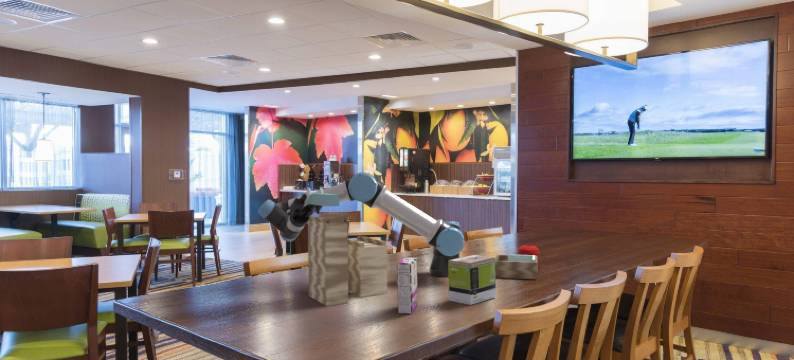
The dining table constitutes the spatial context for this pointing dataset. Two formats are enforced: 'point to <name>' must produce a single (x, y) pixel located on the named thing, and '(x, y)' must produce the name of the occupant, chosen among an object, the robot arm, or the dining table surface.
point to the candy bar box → (407, 285)
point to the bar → (323, 199)
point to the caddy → (515, 268)
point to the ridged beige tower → (367, 266)
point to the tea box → (472, 279)
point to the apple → (529, 250)
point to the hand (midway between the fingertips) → (316, 191)
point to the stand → (328, 258)
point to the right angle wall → (521, 258)
